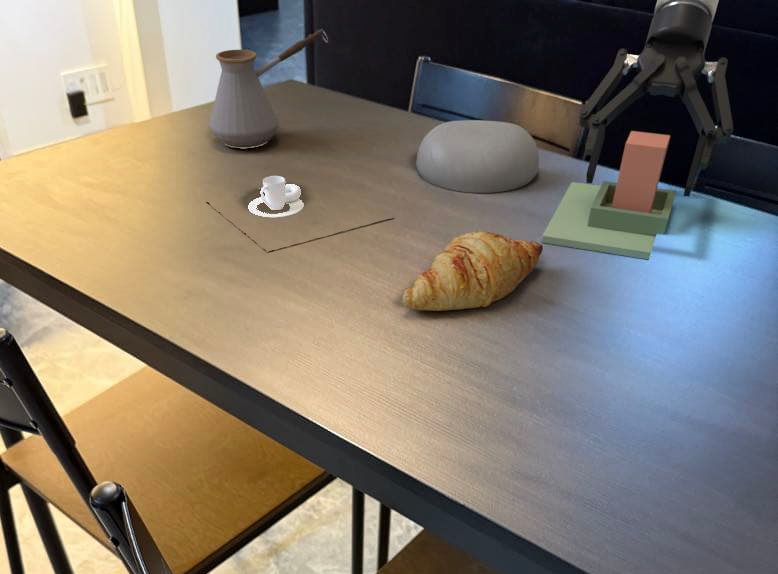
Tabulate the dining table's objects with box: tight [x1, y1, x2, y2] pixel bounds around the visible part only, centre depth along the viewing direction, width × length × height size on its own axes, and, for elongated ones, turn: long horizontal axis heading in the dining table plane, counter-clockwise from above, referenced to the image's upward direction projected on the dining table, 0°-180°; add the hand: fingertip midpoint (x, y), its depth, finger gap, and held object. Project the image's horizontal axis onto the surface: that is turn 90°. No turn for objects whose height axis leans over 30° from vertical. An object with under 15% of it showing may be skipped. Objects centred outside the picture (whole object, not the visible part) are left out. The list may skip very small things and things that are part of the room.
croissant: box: [402, 230, 543, 312], centre depth 90 cm, size 21×10×8 cm, turn 127°
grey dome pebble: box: [415, 119, 540, 194], centre depth 116 cm, size 19×7×16 cm
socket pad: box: [541, 180, 677, 260], centre depth 104 cm, size 20×20×4 cm
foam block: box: [612, 130, 671, 213], centre depth 101 cm, size 5×5×10 cm
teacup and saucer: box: [248, 175, 304, 218], centre depth 108 cm, size 9×8×4 cm
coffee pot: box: [208, 28, 330, 147], centre depth 125 cm, size 21×12×15 cm, turn 115°
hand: (637, 185), depth 99 cm, fingers open, 12 cm apart
